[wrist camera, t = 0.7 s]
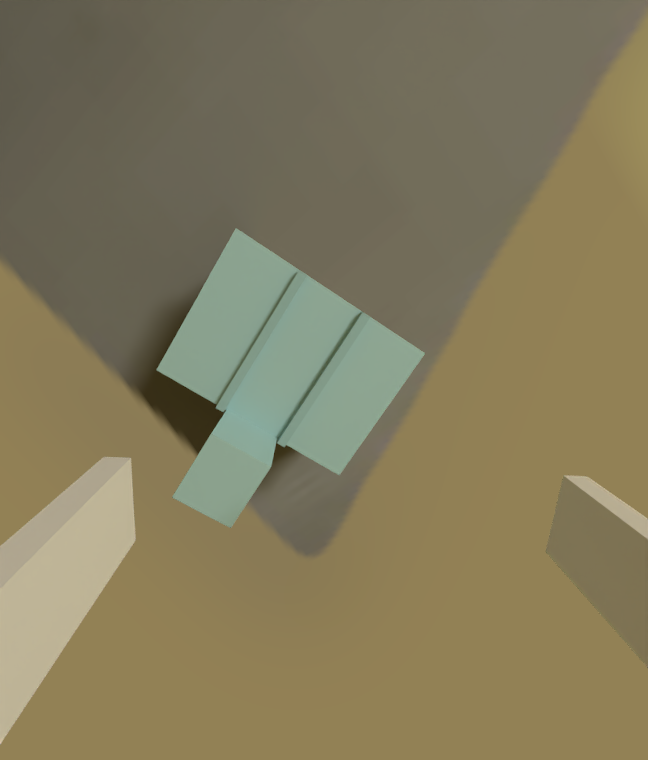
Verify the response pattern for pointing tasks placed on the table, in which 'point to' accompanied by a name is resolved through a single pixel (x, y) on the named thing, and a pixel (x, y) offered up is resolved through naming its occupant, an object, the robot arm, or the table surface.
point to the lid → (278, 374)
